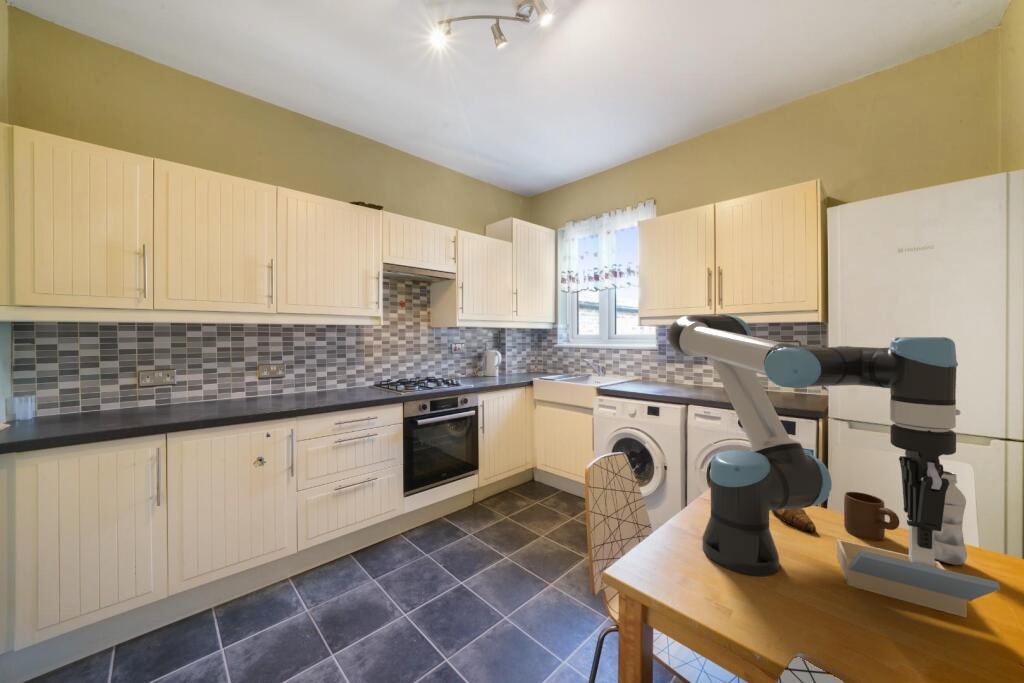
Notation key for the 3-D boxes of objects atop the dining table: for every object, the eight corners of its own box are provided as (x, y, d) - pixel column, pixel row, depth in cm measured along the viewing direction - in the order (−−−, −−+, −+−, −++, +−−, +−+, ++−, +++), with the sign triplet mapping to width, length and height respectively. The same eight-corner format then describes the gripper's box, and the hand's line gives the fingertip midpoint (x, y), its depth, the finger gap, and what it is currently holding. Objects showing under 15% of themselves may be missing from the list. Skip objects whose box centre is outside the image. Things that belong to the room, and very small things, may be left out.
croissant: (826, 533, 95) (826, 514, 95) (802, 535, 94) (802, 516, 94) (782, 509, 108) (782, 492, 108) (761, 510, 108) (761, 494, 108)
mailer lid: (848, 564, 74) (849, 569, 74) (860, 550, 66) (861, 556, 66) (968, 594, 65) (970, 600, 65) (998, 582, 58) (1000, 589, 57)
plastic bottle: (977, 570, 79) (977, 478, 79) (940, 567, 80) (940, 477, 80) (947, 553, 86) (947, 468, 86) (913, 550, 87) (913, 466, 87)
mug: (913, 551, 87) (913, 512, 86) (882, 552, 86) (882, 512, 86) (863, 525, 99) (863, 491, 98) (836, 526, 98) (836, 491, 98)
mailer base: (848, 585, 75) (848, 565, 75) (836, 556, 85) (836, 538, 85) (966, 617, 66) (966, 595, 66) (938, 580, 76) (938, 561, 76)
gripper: (974, 438, 55) (973, 593, 56) (938, 421, 66) (937, 551, 66) (903, 431, 59) (903, 575, 60) (880, 417, 70) (880, 539, 71)
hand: (921, 562), depth 63 cm, fingers closed
